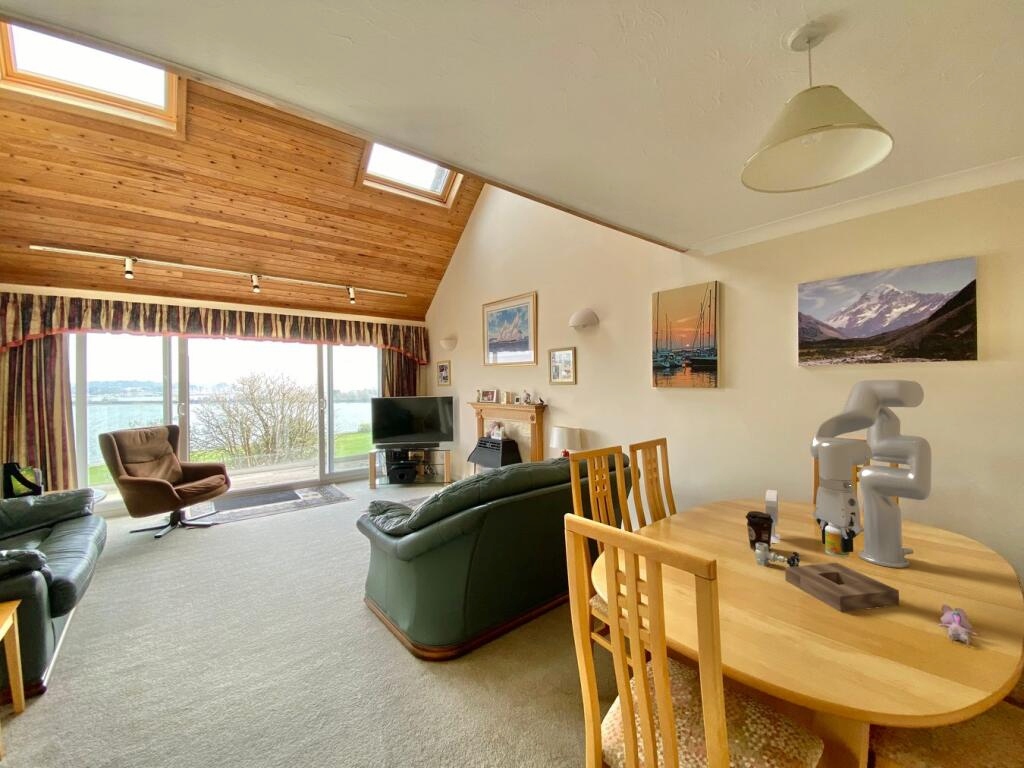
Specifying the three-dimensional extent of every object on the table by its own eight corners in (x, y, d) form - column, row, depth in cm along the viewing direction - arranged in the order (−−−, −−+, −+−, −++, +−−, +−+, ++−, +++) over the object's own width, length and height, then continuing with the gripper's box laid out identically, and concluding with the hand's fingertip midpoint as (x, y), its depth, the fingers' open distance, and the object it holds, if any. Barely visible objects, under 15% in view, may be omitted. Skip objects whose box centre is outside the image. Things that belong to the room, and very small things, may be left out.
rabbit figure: (981, 657, 92) (970, 617, 103) (981, 632, 91) (970, 595, 102) (940, 645, 96) (934, 609, 107) (940, 622, 95) (934, 587, 106)
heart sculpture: (780, 545, 153) (778, 497, 153) (764, 543, 156) (763, 495, 156) (780, 533, 166) (779, 488, 166) (766, 531, 169) (765, 487, 169)
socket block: (837, 575, 129) (836, 562, 129) (899, 605, 111) (898, 590, 111) (785, 580, 126) (785, 567, 126) (840, 611, 108) (839, 596, 108)
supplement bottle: (820, 550, 121) (819, 517, 121) (837, 549, 121) (836, 516, 122) (836, 558, 116) (835, 523, 116) (854, 557, 116) (853, 522, 116)
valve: (752, 565, 138) (794, 576, 129) (751, 545, 138) (794, 555, 129) (758, 559, 142) (800, 570, 133) (758, 540, 142) (799, 549, 133)
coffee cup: (747, 552, 148) (746, 515, 148) (744, 543, 156) (743, 509, 156) (776, 555, 145) (775, 518, 145) (771, 546, 152) (770, 511, 153)
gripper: (877, 490, 111) (879, 558, 111) (820, 477, 128) (822, 536, 128) (852, 492, 110) (854, 560, 109) (799, 478, 127) (800, 538, 126)
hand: (837, 547), depth 118 cm, fingers closed on supplement bottle, 5 cm apart
